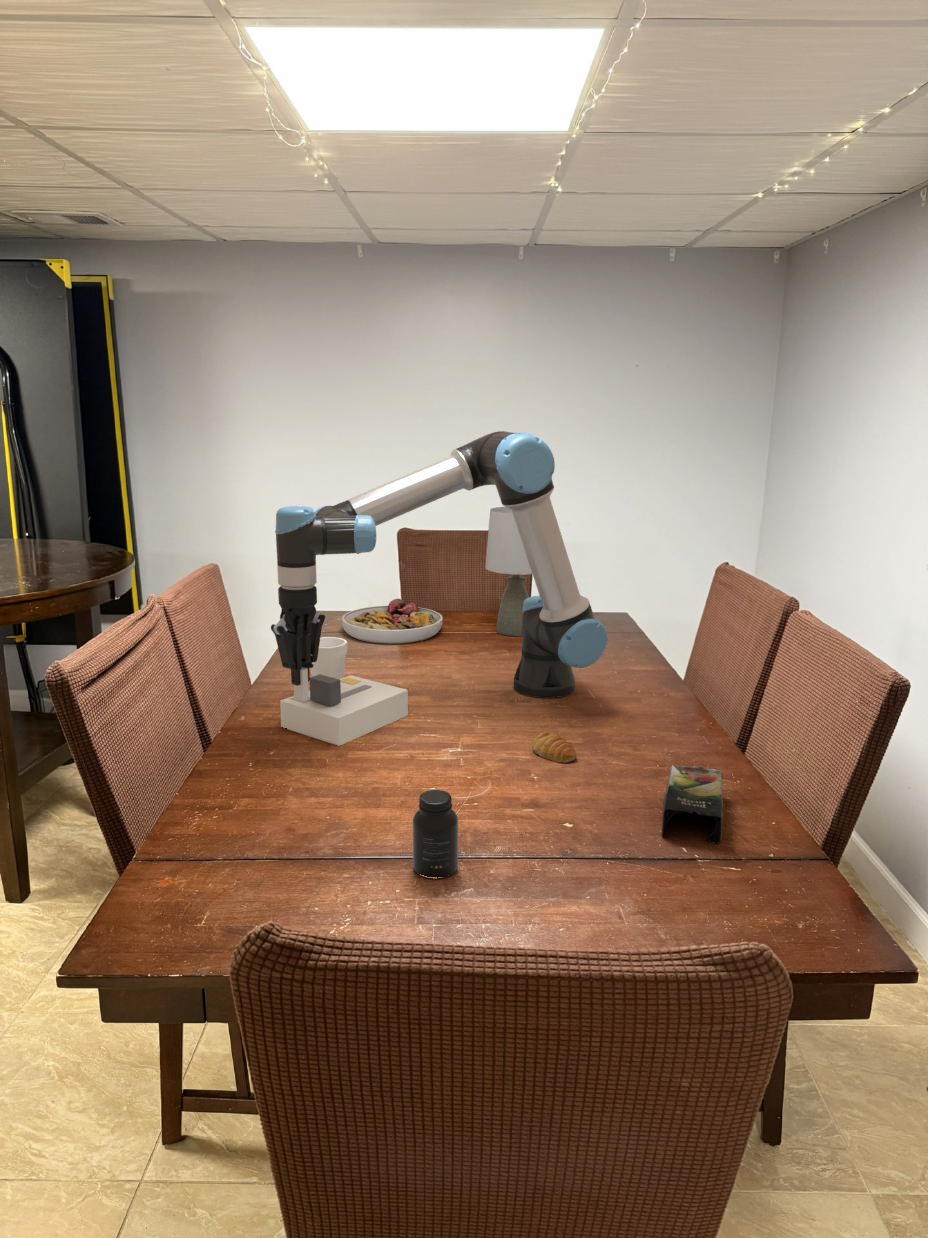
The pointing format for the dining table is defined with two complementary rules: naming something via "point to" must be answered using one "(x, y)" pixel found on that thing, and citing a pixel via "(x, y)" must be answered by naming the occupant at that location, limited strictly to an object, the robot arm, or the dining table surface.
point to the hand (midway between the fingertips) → (301, 698)
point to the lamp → (508, 568)
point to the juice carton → (694, 796)
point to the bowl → (392, 623)
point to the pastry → (553, 747)
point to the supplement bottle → (435, 835)
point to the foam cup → (330, 658)
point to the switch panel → (346, 711)
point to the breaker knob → (325, 690)
